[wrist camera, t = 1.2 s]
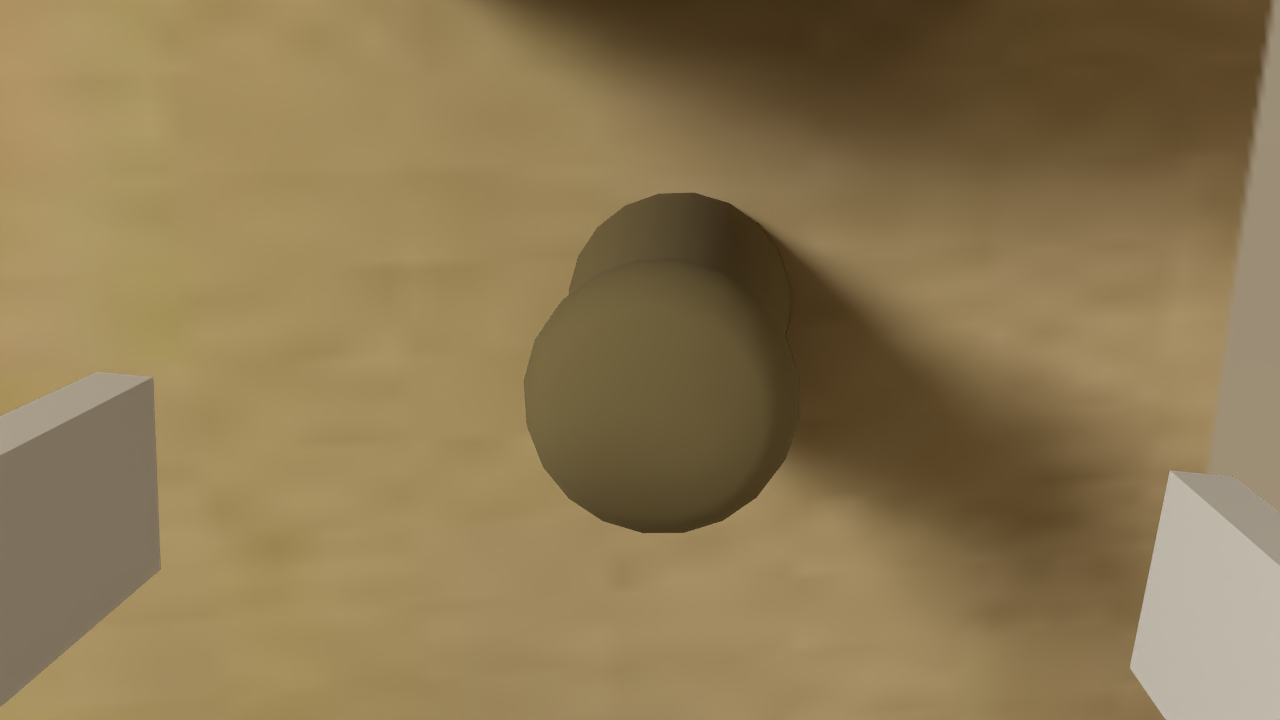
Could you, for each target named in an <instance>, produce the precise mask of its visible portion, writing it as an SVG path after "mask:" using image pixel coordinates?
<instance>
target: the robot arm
mask: <svg viewBox="0 0 1280 720" xmlns="http://www.w3.org/2000/svg"><path fill="white" fill-rule="evenodd" d="M160 569H161V564H160V539H159V513H158V488H157V462H156V437H155V412H154V386H153V377H148V376H137V375H126V374H115V373H105V372H95V373H93V374H91V375H89V376H87V377H84V378H82V379H80V380H78V381H76V382H74V383H71V384H69V385H67V386H65V387H63V388H60V389H58V390H56V391H54V392H52V393H50V394H47V395H45V396H43V397H41V398H39V399H37V400H34V401H32V402H30V403H28V404H26V405H23V406H21V407H19V408H17V409H15V410H13V411H10V412H8V413H6V414H4V415H2V416H0V707H1V706H2V705H3V704H5V703H6V702H7V701H8V700H9V699H10V698H12V697H13V696H14V695H15V694H16V693H17V692H19V691H20V690H21V689H22V688H23V687H24V686H25V685H27V684H28V683H29V682H30V681H31V680H32V679H34V678H35V677H36V676H37V675H38V674H39V673H41V672H42V671H43V670H44V669H45V668H46V667H48V666H49V665H50V664H51V663H52V662H53V661H55V660H56V659H57V658H58V657H59V656H60V655H62V654H63V653H64V652H65V651H66V650H67V649H68V648H70V647H71V646H72V645H73V644H74V643H75V642H77V641H78V640H79V639H80V638H81V637H82V636H84V635H85V634H86V633H87V632H88V631H89V630H91V629H92V628H93V627H94V626H95V625H96V624H98V623H99V622H100V621H101V620H102V619H103V618H105V617H106V616H107V615H108V614H109V613H110V612H111V611H113V610H114V609H115V608H116V607H117V606H118V605H120V604H121V603H122V602H123V601H124V600H125V599H127V598H128V597H129V596H130V595H131V594H132V593H134V592H135V591H136V590H137V589H138V588H139V587H141V586H142V585H143V584H144V583H145V582H146V581H148V580H149V579H150V578H151V577H152V576H153V575H154V574H156V573H157V572H158V571H159V570H160ZM1130 669H1131V670H1132V672H1133V673H1134V675H1135V676H1136V678H1137V679H1138V680H1139V682H1140V683H1141V685H1142V686H1143V688H1144V689H1145V691H1146V692H1147V693H1148V695H1149V696H1150V698H1151V699H1152V701H1153V702H1154V704H1155V705H1156V706H1157V708H1158V709H1159V711H1160V712H1161V714H1162V715H1163V717H1164V718H1165V719H1166V720H1280V513H1279V512H1278V511H1277V510H1276V509H1274V508H1273V507H1272V506H1270V505H1269V504H1268V503H1267V502H1265V501H1264V500H1262V499H1261V498H1260V497H1259V496H1258V495H1256V494H1255V493H1254V492H1252V491H1251V490H1250V489H1248V488H1247V487H1246V486H1244V485H1243V484H1242V483H1241V482H1239V481H1238V480H1237V479H1236V478H1234V477H1233V476H1225V475H1214V474H1204V473H1193V472H1182V471H1171V470H1170V472H1169V477H1168V482H1167V487H1166V492H1165V497H1164V502H1163V507H1162V512H1161V517H1160V521H1159V526H1158V531H1157V536H1156V541H1155V546H1154V551H1153V556H1152V561H1151V566H1150V570H1149V575H1148V580H1147V585H1146V590H1145V595H1144V600H1143V605H1142V610H1141V615H1140V620H1139V624H1138V629H1137V634H1136V639H1135V644H1134V649H1133V654H1132V659H1131V664H1130Z"/></svg>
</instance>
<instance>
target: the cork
mask: <svg viewBox="0 0 1280 720" xmlns="http://www.w3.org/2000/svg"><path fill="white" fill-rule="evenodd" d="M789 322H790V283H789V280H788V277H787V274H786V271H785V268H784V265H783V262H782V259H781V256H780V253H779V251H778V250H777V248H776V247H775V246H774V244H773V243H772V242H771V240H770V239H769V238H768V236H767V235H766V234H765V232H764V231H763V230H762V228H761V227H760V226H759V224H758V223H757V222H755V221H754V220H752V219H751V218H749V217H748V216H746V215H745V214H744V213H742V212H741V211H739V210H738V209H736V208H735V207H734V206H732V205H731V204H729V203H727V202H723V201H720V200H717V199H713V198H710V197H706V196H703V195H700V194H696V193H673V194H657V195H654V196H651V197H649V198H646V199H643V200H640V201H637V202H635V203H632V204H629V205H626V206H624V207H623V208H622V209H621V210H619V211H618V212H617V213H615V214H614V215H613V216H612V217H610V218H609V219H608V220H606V221H605V222H604V223H603V224H601V225H600V226H599V227H598V228H597V229H596V231H595V232H594V234H593V235H592V237H591V238H590V240H589V241H588V243H587V244H586V246H585V247H584V249H583V250H582V252H581V253H580V255H579V256H578V259H577V263H576V267H575V270H574V274H573V278H572V281H571V285H570V288H569V296H567V297H566V298H565V299H563V301H562V302H561V303H560V304H559V305H558V307H557V308H556V310H555V311H554V313H553V314H552V316H551V317H550V319H549V320H548V322H547V323H546V324H545V326H544V327H543V329H542V330H541V332H540V333H539V335H538V336H537V338H536V339H535V342H534V346H533V349H532V353H531V357H530V360H529V364H528V368H527V371H526V375H525V379H524V389H525V406H526V422H527V426H528V430H529V432H530V435H531V438H532V440H533V443H534V445H535V448H536V450H537V453H538V455H539V458H540V460H541V463H542V465H543V467H544V469H545V470H546V471H547V472H548V473H549V475H550V476H551V477H552V478H553V480H554V481H555V482H556V483H557V484H558V486H559V487H560V488H561V489H562V491H563V492H564V493H565V494H566V495H567V497H568V498H569V499H571V500H572V501H574V502H575V503H577V504H578V505H580V506H581V507H583V508H584V509H586V510H587V511H589V512H590V513H592V514H593V515H595V516H596V517H598V518H599V519H601V520H602V521H605V522H608V523H611V524H615V525H618V526H621V527H625V528H628V529H631V530H635V531H638V532H641V533H684V532H688V531H691V530H694V529H697V528H701V527H704V526H707V525H710V524H713V523H717V522H720V521H723V520H724V519H726V518H727V517H729V516H730V515H732V514H733V513H735V512H736V511H737V510H739V509H740V508H742V507H743V506H745V505H746V504H748V503H749V502H750V501H752V500H753V499H755V498H756V497H757V496H758V495H759V493H760V492H761V491H762V489H763V488H764V487H765V485H766V484H767V483H768V482H769V480H770V479H771V478H772V476H773V475H774V474H775V472H776V471H777V470H778V468H779V467H780V466H781V464H782V463H783V462H784V460H785V459H786V456H787V453H788V450H789V447H790V445H791V442H792V439H793V436H794V433H795V430H796V427H797V424H798V421H799V374H798V371H797V369H796V366H795V363H794V360H793V357H792V354H791V351H790V348H789V345H788V342H787V339H786V336H785V334H786V331H787V328H788V325H789Z"/></svg>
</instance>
